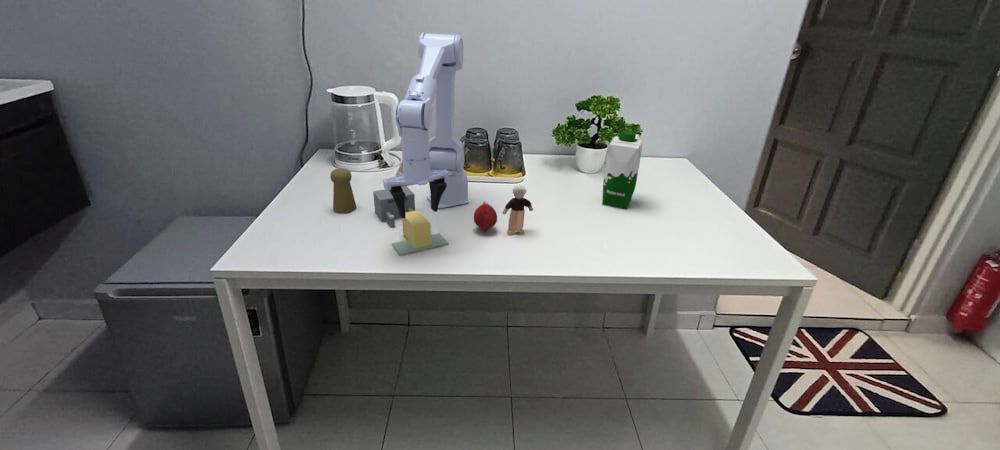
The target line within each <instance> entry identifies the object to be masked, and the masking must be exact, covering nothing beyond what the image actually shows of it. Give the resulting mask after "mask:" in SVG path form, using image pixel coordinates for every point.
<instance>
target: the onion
mask: <svg viewBox="0 0 1000 450" xmlns="http://www.w3.org/2000/svg"><path fill="white" fill-rule="evenodd" d="M497 222H498V214H497V212H496V209H495V208H494V207H493V206H492V205H490V204H489V203H487V201H486V200H483V202H482V204H481V205H479V206H478V207H477V208H476V209H475V210H474V213H473V223H474V224H475V225H476V227H478V228H479V229H480V230H481V231H484V232H486V231H488V230H490V229H492V228H493V227H495V226H496V224H497Z"/></svg>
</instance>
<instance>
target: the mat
mask: <svg viewBox="0 0 1000 450" xmlns="http://www.w3.org/2000/svg"><path fill="white" fill-rule="evenodd" d="M449 244H450V243H449V241H447V240H446V239H445V237H444V236H443V235H442V234H441V233H439V232H437V233H431V245H428V246H424V247H419V248H414V247H413V245H412V244H411V243H410V242H409V240H408V239H406V240H402V241H396V242H392V243H391V246H392V247H393V249H394V251H396V253H397V255H398V256H400V257H402V256H404V255H409V254H413V253H417V252H422V251H426V250H431V249H434V248H435V249H436V248H440V247H444V246H448V245H449Z"/></svg>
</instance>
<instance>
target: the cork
mask: <svg viewBox="0 0 1000 450" xmlns="http://www.w3.org/2000/svg"><path fill="white" fill-rule="evenodd" d="M351 180H352V173H351V170H349V169H347V168H342V167H341V168H335V169H333V170H332V171H331V172H330V181H331V182H332V183H333V194H332V195H333V199H332V200H333V201H332V202H333V203H332V205H333V206H332V210H333V212H334V213H336V214H340V215H341V214H350V213H353V212H355V211H356V210H357V209H358V208H357V203H356V200H355V194H354V192H353V188H352V185H351Z"/></svg>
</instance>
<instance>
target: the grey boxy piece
mask: <svg viewBox="0 0 1000 450" xmlns="http://www.w3.org/2000/svg"><path fill="white" fill-rule="evenodd" d="M401 188H402V189H403V192H404V193H405V212H410V211H416V199H415V193H414V192H413V191H412V190H411V189H410V188H409V186H404V187H401ZM372 195H373V204H374V212H375V214H376V216H377V217H378V218H379V220H380V221H381V222H387V223H386V224H388V225H389V227H390V228H395V226H396V224H395V223H396V221H395V220H397V219H402V218H401V216H400V215H399V211H398V207H397V205H396V202H395V200H394V198H393V196H392V194H391V193H390V191H389V190H388V191H386V190H385V188H384V189H379V190H374V191H373V194H372Z"/></svg>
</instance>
